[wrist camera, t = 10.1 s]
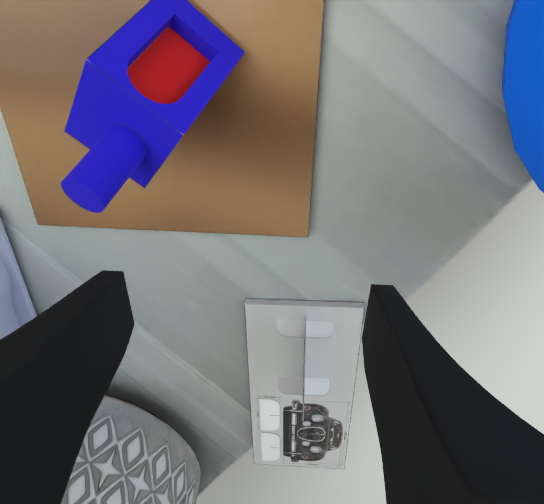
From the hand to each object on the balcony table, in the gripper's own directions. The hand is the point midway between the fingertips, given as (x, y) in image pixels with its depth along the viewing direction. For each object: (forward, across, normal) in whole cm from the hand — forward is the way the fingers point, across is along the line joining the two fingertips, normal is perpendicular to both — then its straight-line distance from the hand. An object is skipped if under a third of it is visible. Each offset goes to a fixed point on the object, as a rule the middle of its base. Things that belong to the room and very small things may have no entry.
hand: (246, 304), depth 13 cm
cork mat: (+9, +5, -4) cm, 11 cm away
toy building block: (+9, +4, -4) cm, 11 cm away
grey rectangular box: (+9, -2, +15) cm, 18 cm away
